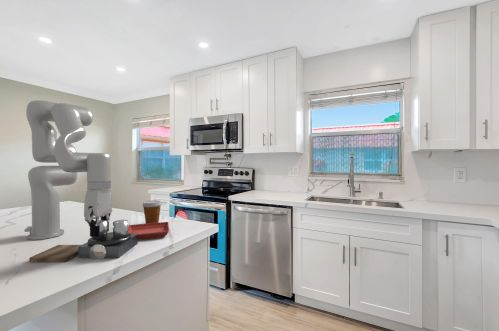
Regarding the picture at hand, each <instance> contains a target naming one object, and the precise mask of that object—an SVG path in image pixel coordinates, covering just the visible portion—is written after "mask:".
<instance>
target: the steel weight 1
mask: <svg viewBox="0 0 499 331" xmlns="http://www.w3.org/2000/svg"><path fill="white" fill-rule="evenodd" d="M98 225H100V236H98V237H92V239H95V240H97V239H103V238H106V237H107V236H108V233H109V231H108V227H107V220H101V219H99V223H98Z"/></svg>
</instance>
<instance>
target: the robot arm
mask: <svg viewBox="0 0 499 331" xmlns="http://www.w3.org/2000/svg"><path fill="white" fill-rule="evenodd" d="M25 112H26V114H25V115H26V119H27V122H28V125H29V127H30V130H31V154H32V158H33V160H34V161H35V162H38V163H46V164H47V163H49V164H51V163H52V164H53V163H57V164H58V165H38V166H33V167H32V168H31V169H29V171H28V173H27V179H28V183H29V188H30V194H31V195H30V196H31V225H30V226H26V228H24V232H29V234H28V235H27V236H26V238H27V240H29V241H30V240H31V241H35V240H36V241H37V240H38V241H39V240H45V239H46V240H47V239H51V238H57V237H59V236H62V235H63V234H65V230H64V229H63V228H61V214H60V213H61V207H60V206H61V202H60V201H61V200H60V195H59V192H57V190H56V189H55V188H54V187H59V186H60V187H61V186H70V185H74V184H75V183H76V181H77V180H78V173H86V181H87V182H86V188H87V189H86V192H85V197H84V205H83V206H84V207H83V217H84V221H85V223H87V224H88V226H89V238H91V237H98V236H100V225H98V223H99V220H107V227H108V232H109V231H110V217H111V214H112V212H113V198H112V191H111V189H112V177H111V176H112V173H111V172H112V171H111V169H112V168H111V165H112V164H111V162H112V161H111V160H112V159H111V155H110V154H108V153H106V152H105V153H102V152H77V149H76V147H75V146H74V145H73V144H75V143H77V142H79V141H82V140H83V139H84V138H85V137H86V136H87V132H86V129H85V127H89V126H91V124H92V123H93V120H94V117H93V116H94V115H93V114H92V111H91V110H90V109H89V108H87V107H84V106H81V105H76V104H70V103H65V102H59V103H58V102H54V101H53V102H52V101H48V100H37V99H36V100H31V101H29V102H28V104H27V105H26V110H25ZM50 122H52V123H55V126H56V129H57V130H58V131H56V129H55V128H54V126H53V125H52V124H51V123H50ZM57 132H58V133H59V135H60V136H58V135H57V134H58V133H57Z"/></svg>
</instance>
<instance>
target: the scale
mask: <svg viewBox="0 0 499 331" xmlns="http://www.w3.org/2000/svg"><path fill="white" fill-rule="evenodd" d="M138 242H139V240H138V234H130V233H128V237H127V238H124V239H113V231H111V232H109V231H108V236H107V237H106V238H103V239H97V240H95V239H92V237H89V238H88V239H87V242H85V243H83V244H80V245H81V246H79V247H78V255H77V257H78V259H92V260H103V259H119V258H121V257H122V256H124V255H125V254H126V253H128V252H130V251H131V250H132V248H134V247H135V246H137V245H138Z"/></svg>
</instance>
